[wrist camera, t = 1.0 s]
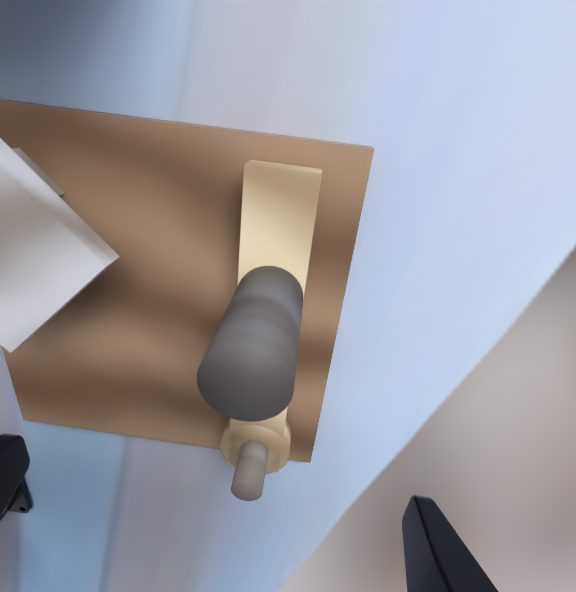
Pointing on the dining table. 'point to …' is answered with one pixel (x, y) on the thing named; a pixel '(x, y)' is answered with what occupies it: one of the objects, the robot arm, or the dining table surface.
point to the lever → (262, 323)
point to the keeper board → (150, 266)
